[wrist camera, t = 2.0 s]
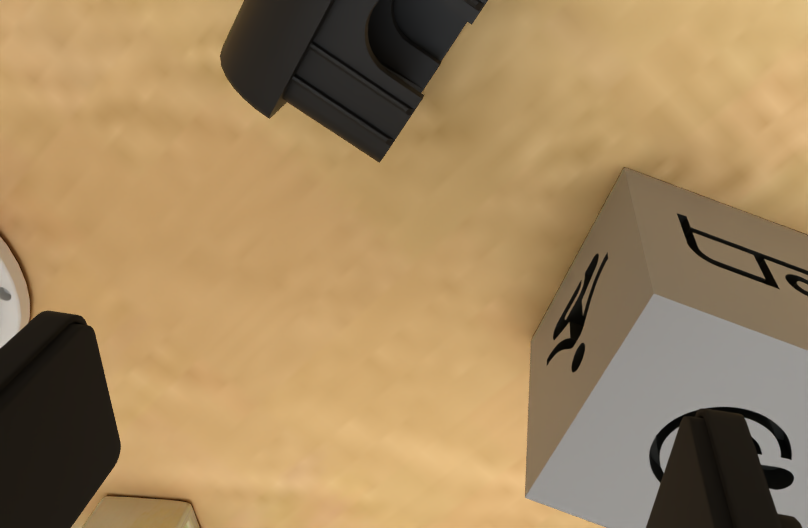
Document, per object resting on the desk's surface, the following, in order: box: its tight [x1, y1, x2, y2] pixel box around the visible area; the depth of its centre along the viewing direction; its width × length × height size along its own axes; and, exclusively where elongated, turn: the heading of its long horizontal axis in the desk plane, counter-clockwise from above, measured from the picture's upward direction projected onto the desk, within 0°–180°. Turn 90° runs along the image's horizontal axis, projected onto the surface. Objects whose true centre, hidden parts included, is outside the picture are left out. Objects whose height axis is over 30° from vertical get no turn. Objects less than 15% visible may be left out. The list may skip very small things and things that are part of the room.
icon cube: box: [525, 167, 808, 528], centre depth 28 cm, size 10×10×10 cm
